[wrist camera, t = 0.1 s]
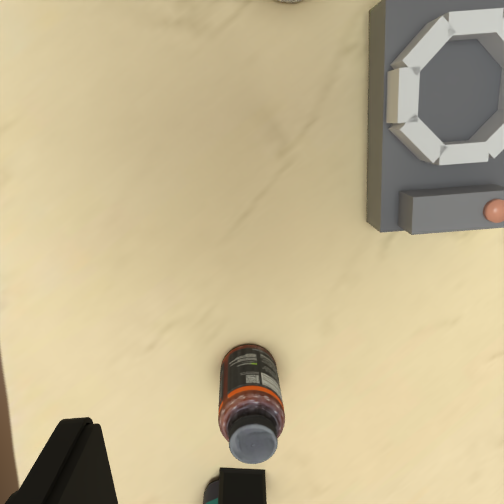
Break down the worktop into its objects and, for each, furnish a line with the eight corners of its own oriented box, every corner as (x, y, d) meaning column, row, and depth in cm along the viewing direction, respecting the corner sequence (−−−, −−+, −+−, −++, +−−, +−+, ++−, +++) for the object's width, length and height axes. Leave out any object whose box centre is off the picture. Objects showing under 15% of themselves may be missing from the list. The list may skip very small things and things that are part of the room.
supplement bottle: (236, 398, 45) (236, 485, 35) (210, 356, 44) (202, 434, 33) (285, 376, 45) (301, 457, 34) (261, 332, 43) (268, 403, 32)
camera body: (369, 10, 34) (404, -19, 27) (501, 1, 34) (571, -31, 27) (366, 221, 40) (395, 244, 33) (479, 212, 40) (533, 233, 33)
